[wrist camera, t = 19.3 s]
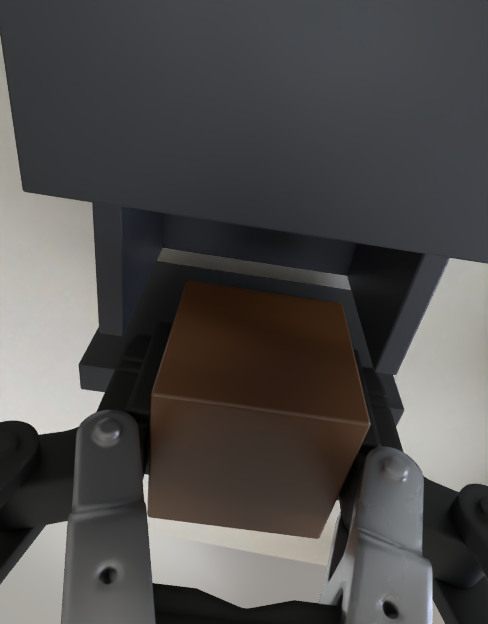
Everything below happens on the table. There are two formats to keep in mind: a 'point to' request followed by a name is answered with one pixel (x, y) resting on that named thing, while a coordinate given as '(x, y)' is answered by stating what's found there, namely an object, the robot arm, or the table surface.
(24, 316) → the table surface
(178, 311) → the block
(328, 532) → the table surface
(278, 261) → the drawer
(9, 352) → the table surface
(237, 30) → the cabinet
